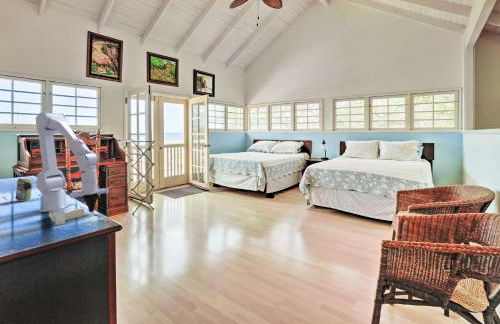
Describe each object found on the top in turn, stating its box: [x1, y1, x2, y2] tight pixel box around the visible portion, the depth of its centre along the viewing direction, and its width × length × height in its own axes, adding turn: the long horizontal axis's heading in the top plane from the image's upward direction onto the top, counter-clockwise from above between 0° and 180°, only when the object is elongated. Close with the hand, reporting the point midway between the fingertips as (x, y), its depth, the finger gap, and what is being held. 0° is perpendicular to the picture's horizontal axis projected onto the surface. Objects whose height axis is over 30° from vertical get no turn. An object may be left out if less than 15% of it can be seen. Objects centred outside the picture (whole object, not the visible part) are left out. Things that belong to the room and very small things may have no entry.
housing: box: [48, 205, 66, 226], centre depth 109 cm, size 14×3×5 cm, turn 45°
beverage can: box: [15, 177, 33, 202], centre depth 140 cm, size 6×7×12 cm
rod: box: [51, 207, 85, 223], centre depth 112 cm, size 11×3×3 cm, turn 146°
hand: (91, 211), depth 117 cm, fingers closed
